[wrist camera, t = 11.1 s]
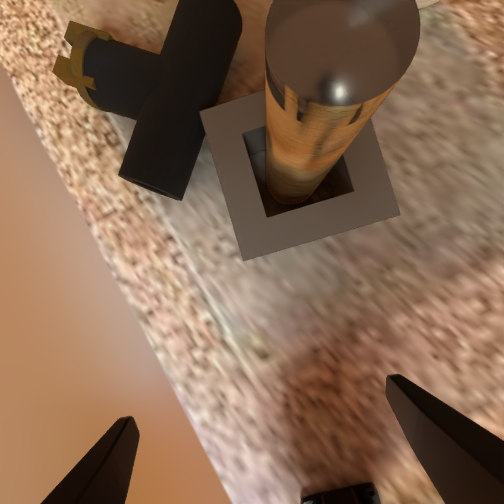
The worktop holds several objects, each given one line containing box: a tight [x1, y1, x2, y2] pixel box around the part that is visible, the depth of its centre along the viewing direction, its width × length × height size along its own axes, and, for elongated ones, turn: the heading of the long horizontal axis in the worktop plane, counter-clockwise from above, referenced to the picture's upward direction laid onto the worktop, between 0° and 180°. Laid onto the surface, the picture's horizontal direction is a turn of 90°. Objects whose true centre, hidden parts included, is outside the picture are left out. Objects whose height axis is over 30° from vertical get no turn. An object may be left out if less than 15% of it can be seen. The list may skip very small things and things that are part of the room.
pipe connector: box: [52, 0, 242, 201], centre depth 19 cm, size 12×5×15 cm
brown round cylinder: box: [265, 0, 420, 205], centre depth 14 cm, size 4×4×14 cm
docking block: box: [200, 89, 400, 261], centre depth 19 cm, size 11×11×4 cm
